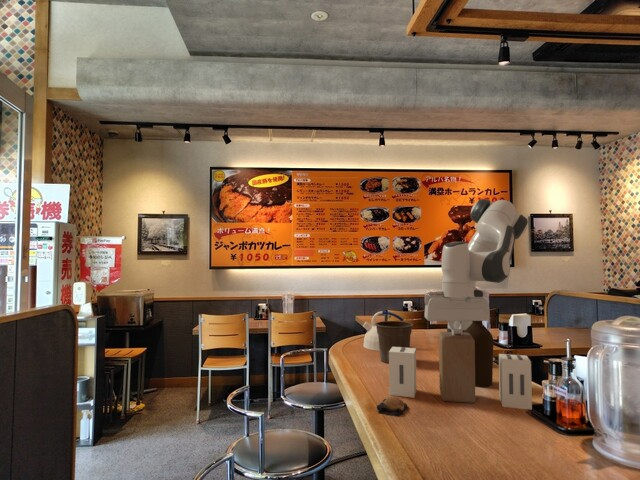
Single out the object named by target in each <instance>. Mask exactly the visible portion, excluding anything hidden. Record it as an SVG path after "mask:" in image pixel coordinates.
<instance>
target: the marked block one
mask: <svg viewBox="0 0 640 480" xmlns="http://www.w3.org/2000/svg"><path fill="white" fill-rule="evenodd" d="M388 391H389V392H388V395H389V396H393V397H394V396H395V397H405V398H415V397H416V392H417V348H416V347H410V348H404V347H392V348H391V349H390V351H389V363H388Z"/></svg>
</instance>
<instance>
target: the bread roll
mask: <svg viewBox="0 0 640 480" xmlns="http://www.w3.org/2000/svg"><path fill="white" fill-rule="evenodd" d="M407 409H408V404H407V403H406V402H404V401H403V400H401V398H399V397H397V396H395V397H394V396H390V397H387V398H384V399H383V400H382V402H380V403H379V404H378V405H376V410H377V411H376V413H377V414H380V415H385V416H389V417H403V415H404V414H405V413H406V411H407Z"/></svg>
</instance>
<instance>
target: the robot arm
mask: <svg viewBox="0 0 640 480" xmlns="http://www.w3.org/2000/svg"><path fill="white" fill-rule="evenodd" d="M470 219H471V220H472V221H473V222H474V223H476V224H477V226H476V229H477V230H476V231H475V233H474V234H473V236H472V237H471V239H470V240H469V242H466V241H462V240H461V241H459V240H458V241H450V242H446V243H445V244H444V245H443V246H442V252H441V271H442V280H441V291H429V292H427V293H426V294H425V295H424V304H425V305H424V319H426V320H427V322H428V321H429V322H445V321H446V322H447V327H446V332H452V335H463V333H464V331H465V330H466V329H467V328H468V327H469V326H470V325H471V324H472V321H482V322H486V321H488V320H489V319H490V315H491V314H490V305H489V302H488V300H487V299H486V297H487V292H486V291H485V290H482V289H479V288H476V282H488V283H489V282H490V283H494V284H495V283H496V284H500V283H502V282H504V281H505V280H506V279H507V278H508V276H509V275H510V272H511V260H512V256H513V252H514V247H515V242H516V240H518V239H519V238H520V237H522V236H523V235H524V234H525V233H526V231H527V229H528V223H529V220H528V218H527V217H525V216H524V215H523V214H519V213H518V212H517V209H516V206H515V205H514V204H513V203H512V202H511V201H508V200H505V199H498V200H495V201H491V199H487V198H481V199H478V200H477V202H475V203H474V204H473V205H472V207H471V210H470ZM495 361H496V358H495V357H494V356H493V362H495Z"/></svg>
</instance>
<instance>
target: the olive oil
mask: <svg viewBox="0 0 640 480" xmlns="http://www.w3.org/2000/svg"><path fill="white" fill-rule="evenodd" d="M464 333H469V334H470V335H471V336H472V337H473V339H474V341H475V387H478V388H480V387H482V388H486V387H492V386H493V380H494V379H493V376H494V375H493V374H494V373H493V371H494V369H493V368H494V365H493V364H494V361H493V357H494V345H495V342H494V336H493V334H492V333H491V331H490V330H489V329H488V327H486V326H485V325H484V323H483V321H472V324H471V325H470V326H469V327H468V328H467V329H466V330H465V331H464Z"/></svg>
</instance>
